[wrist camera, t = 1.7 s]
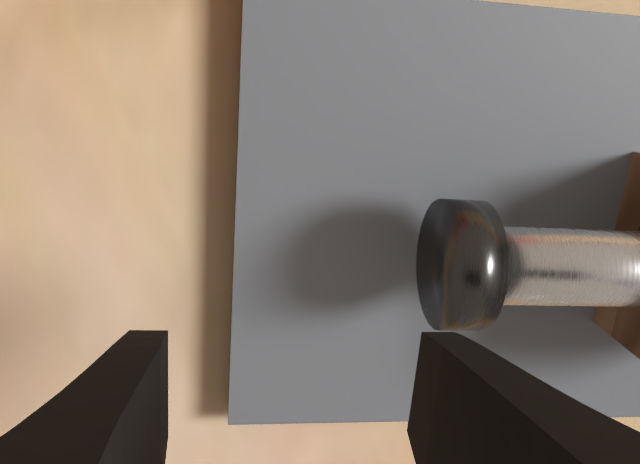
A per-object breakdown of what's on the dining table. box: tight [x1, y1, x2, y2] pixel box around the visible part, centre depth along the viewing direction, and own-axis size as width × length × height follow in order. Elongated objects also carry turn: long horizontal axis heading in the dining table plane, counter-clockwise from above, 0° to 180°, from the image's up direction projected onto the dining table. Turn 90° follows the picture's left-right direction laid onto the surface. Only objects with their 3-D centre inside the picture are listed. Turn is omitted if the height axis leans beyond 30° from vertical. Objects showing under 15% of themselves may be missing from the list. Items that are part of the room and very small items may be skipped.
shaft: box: [416, 199, 640, 331], centre depth 17 cm, size 4×10×4 cm, turn 85°
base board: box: [228, 0, 640, 425], centre depth 20 cm, size 14×20×1 cm
